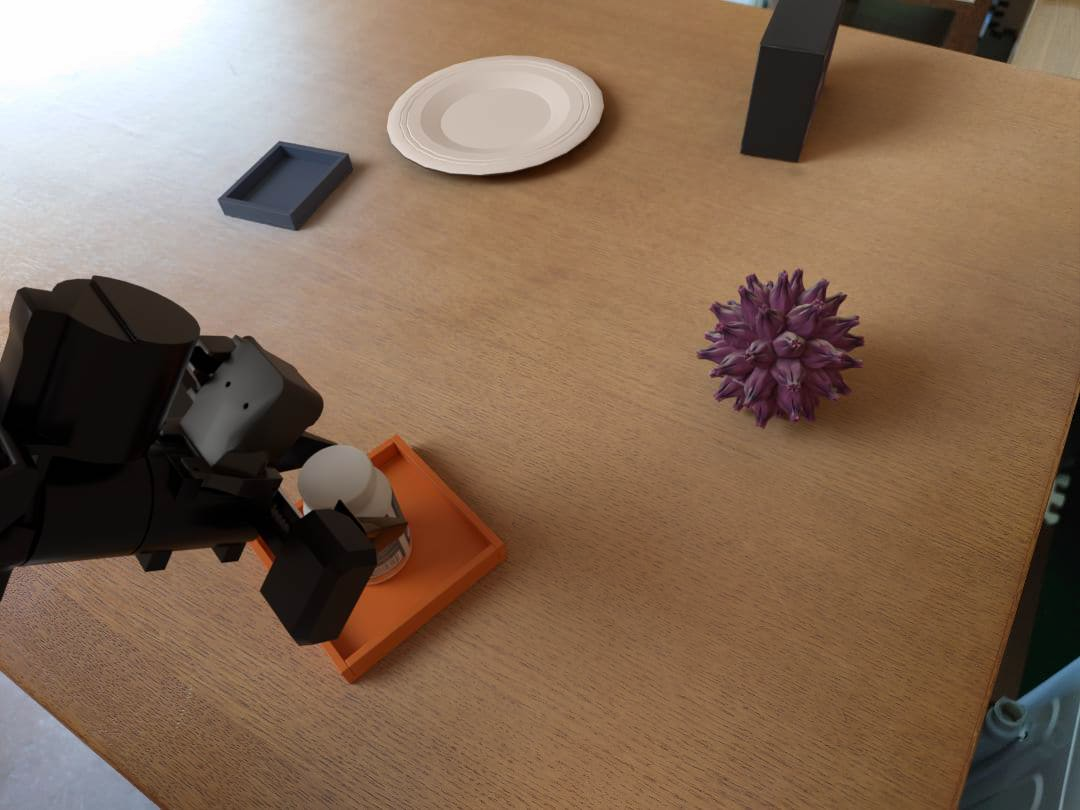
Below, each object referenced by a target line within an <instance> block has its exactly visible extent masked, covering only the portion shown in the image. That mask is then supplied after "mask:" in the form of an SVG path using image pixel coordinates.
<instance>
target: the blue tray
mask: <svg viewBox="0 0 1080 810" xmlns="http://www.w3.org/2000/svg"><path fill="white" fill-rule="evenodd" d="M353 170H354V166H353V162H352V160H351V156H350V154H349V153H348V152H342V151H337V150H331V149H327V148H326V149H325V148H321V147H315V146H310V145H306V144H305V145H304V144H298V143H295V142H294V143H293V142H287V141H283V140H279V141H277V142H276V143H275V144H274V145H273V146H272V147H271V148H270V149H269V150H268V151H267V152H266V153H264V154H263V156H262V157H260V158H259V159H258V160H257V161H256V162H255V163H254V164H253V165H252V166H251V167H250V168H249V169H248V170H247V171H246V172H244V173H243V174H242V175H241V176H240V178H238V179H237V180H236V181H235V182H234V183H233V184H232V185H231V186H230V187H229V188H228V189H226V191H224V193H222V194H221V196H219V197H218V198H217V203H218V204H219V206H220V208H221V210H222V213H223V215H224V216H226V217H227V216H228V217H232V218H236V219H242V220H246V221H250V222H254V223H258V224H263V225H267V226H272V227H277V228H281V229H285V230H288V231H289V230H290V231H294V232H297V231H298V230H299V229H300V227H302V226H303V224H304V223H305V222H307V220H308V219H309V218H310V217H311V216H312V215H313V214H314V212H316V210H317V209H318V208H319V207H320V206H321V205H322V204H323V202H324V201H325V200H327V198H328V197H329V196H330V195H331V194H332V193H333V192H334V191H335V190H336V189H337V188H338V187H339V185H340V184H341V183H342V182H343V181H344V180H345V179H346V178H347V177H348V176H349V174H350V173H352V171H353Z"/></svg>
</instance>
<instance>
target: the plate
mask: <svg viewBox="0 0 1080 810" xmlns="http://www.w3.org/2000/svg"><path fill="white" fill-rule="evenodd" d="M604 109H605V103H604V99H603V93H602V90H601V89H600V87H599V86H598V84H596V82H595V81H594V79H593V78H592V77H590V75H588V74H586V73H585V72H584V71H582V70H580V69H579V68H577V67H575V66H573V65H570V64H567V63H564V62H561V61H559V60H556V59H552V58H547V57H539V56H536V55H535V56H534V55H513V54H512V55H510V54H508V55H507V54H506V55H496V56H487V57H479V58H475V59H470V60H468V61H467V60H466V61H463V62H459V63H455V64H452V65H449V66H448V67H447V66H446V67H444V68H442V69H439V70H437V71H434V72H432V73H431V74H429V75H427V76H426V77H424V78H422V79H420V80H418V81H417V82H415V83H413V84H412V85H411V86H410V87H409V88H408V89H407V90H406V91H405V92H404V93H403V94H402V95H400V96H399V97H397V100H396V101H395V103H394V105H393V106H392V108H391V110H390V111H389V113H388V118H387V125H386V131H387V133H388V136H389V140H390V142H391V145H392V146H393V147H394V148H395V149H396V151H398V152H399V154H400V155H402V156H403V157H404V159H405V160H406V159H407V160H408V161H410V162H412V163H414V164H416V165H418V166H420V167H422V168H423V169H426V170H430V171H436V172H439V173H443V174H447V175H451V176H452V175H453V176H466V177H467V176H469V177H470V176H471V177H488V176H498V175H499V176H500V175H509V174H514V173H517V172H521V171H525V170H530V169H533V168H537V167H541V166H543V165H545V164H547V163H548V164H549V163H550V162H552V161H554V160H556V159H559V158H561V157H563V156H565V155H568V154H569V153H570V152H572V151H573V150H574V149H576V148H577V147H579V146H580V145H581V144H582V143H584V142H585V141H587V140H588V138H589V137H590V136H591V135H592V134H593V132H595V130H596V129H597V128H598V126H599V125H600V123H601V119H602V117H603V113H604Z"/></svg>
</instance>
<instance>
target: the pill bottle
mask: <svg viewBox="0 0 1080 810" xmlns="http://www.w3.org/2000/svg"><path fill="white" fill-rule="evenodd" d="M367 454H368V453H366V452H365V451H364V450H363V449H361V448H359V447H357V446H354V445H350V444H338V445H334V446H330V447H327V448H324V449H322V450H320V451H319V452H317V453H315V454H314V455H313V456H312V457H310V458H309V459H308V460H307V461H306V463H305V464H304V465H303V467H302V468H301V469H300V471H299V473H298V477H297V490H298V493H299V496H300V498H301V499H303V501H304V504H303V511H304V516H305V515H306V514H308V513H309V512H310V511H312V510H315V509H332V510H334V508H335V506H336V504H337V502H338V500H339V499H340V500H342V501H343V502H344V504H345V505H346V506H347V507H348V508H349V509H350V511H351V512H352V513H353V514H354V515H355V516H356V517H395V518H403V519H405V517H404V515H403V513H402V510H401V508H400V505H399V503H398V501H397V498H396V496H395V494H394V492H393V489H392V487H391V485H390V482H389V480H388V479H387V477H386V476H385V475H384V474H383V473H382V472H381V471H380V470H379V469H377V468H376V467H374V466H373V464H372V462H371V460H370V458H369V457H368V455H367ZM411 549H412V536H411V532H410V529H409V527H408V526H407V527H406V529H405V531H404V533H403V535H402V536H401V537H399V538H398V539H397V540H395V541H394V542H393V543H391V544H390V545H389V546H388V547H386V548H385V549H384V550H382V551H381V552H380V553H378V554H377V566H376V568H375V570H374V572H373V574H372V576H371V577H370V579H369V581H368V583H367V585H372V584H377V583H381V582H383V581H386V580H388V579H390V578H391V577H393V576H394V575H395V574H397V573H398V572H399V571H400V570H401V569H402V567H403V566H404V565H405V564H406V562H407V560H408V559H409V556H410V553H411Z"/></svg>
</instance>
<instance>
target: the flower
mask: <svg viewBox="0 0 1080 810" xmlns="http://www.w3.org/2000/svg"><path fill="white" fill-rule="evenodd" d="M803 278H804V268H802V269H801V268H796V269H794V270H793V272H792V275H791V276H790V278H789V273H788V272H787V270H786V269H784V270H782V271H781V272H778V275H777V282H775V284H774V281H773V280H771V279H768V280H765V281H764V283H763V282H761V281H760V279H758V277H757V275H756V273H755V272H752V273H749V274H746V276H744V279H745V281H746V286H745V285H743V284H740V285H739V286H738V289H737V292H738V294H739V296H740V300H739V301H740V302H737V301H735V300H734V299H730V300H729V299H728V300H727V301H726V303H721V302H719V301H717V300H713V301H712V303H711V304H710V306H709V307H708V310H709V311H710V312H711V313H713V314H714V315H715V318H716V319H717V320H718V322H717V323H716V325H715V326H714V330H706V331H705V332H704V337H703V338H704V339H705V340H708V341H710V342H712V344H711V345H708V346H707V347H705V348H700V349H697V350H696V354H697V355H696V358H697V359H698V360H707V361H710V362H712V363H715V364H716V365H717V366H715V367H713V368H712V370H710V371H708V376H709V378H710V379H714V378H721V381H720V384H719V387H718V389H717V390H716V391H715V392H714V393H713V395H712V397H713V398H714V400H716V401H717V403H721V402H723V401H724V400H725V399H732V398H735V400H734V403H733V404H732V408H733V411H737V413H738V412H740V411H741V410H742V409H743V408H745V409H749V410H752V411H753V413H754V415H755V427H759V428H761V429H762V430H765V428H766V427H767V424H768V422H769V420H770V419H772V418H773V416H775V418H776V419H779V420H782V419H784V418H786V414H787V415H788V418H789V420H790V423H796V424H797V423H798V422H801V421H802V420H801V419H802V418H801V416H802V417H803V418H804V420H805V421H806V423H807V424H811V423H812V424H815V423H816V422H817V417H816V414H815V408H817V407H820V405H821V401H820V399H819V397H820V398H824V399H828V400H829V401H830V402H832V403H833V404H836V402H838V400H839V399H841V398H840V396H839V395H841V396H844V397H848V396H849V394H851V393H852V392H853V389H852V388H851V387H850V386H849V385H848V384H847V383H846V382H845V379H844V376H843V375H842V373H841V372H842V371H843V372H844V371H847V370H849V369H860V370H861V369H864V366H863V365H864V360H863V359H859V358H856V357H854V356H852V355H850V352H852V351H853V350H854V349H856V348H862V347H863V348H864V347H865V342H866V341H865V336H863V335H855V334H853V333H851V332H849V331H851V330H852V329H853V328H855V327H857V326H859V325H860V324H861V322H860V318H861V317H860V315H857V314H856V315H852V316H848V317H842V316H838V315H837V314H838V311H839V308H840V306H841V305H842V304H843V302H844V301H846V299H847V297H848V296H849V295H848V294H846V293H843V291H838V292H836V293H835V294H834V295H831V296H827V289H828V287H829V285H830V284H831V283H830V282H831V281H830V280H827V278H824V277H821V278H820V279H819V280H818V281H817V283H816V284H814V285H813V286H811V287H809V288H808V289H807V288H805V286H804V282H803V281H804V279H803Z"/></svg>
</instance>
